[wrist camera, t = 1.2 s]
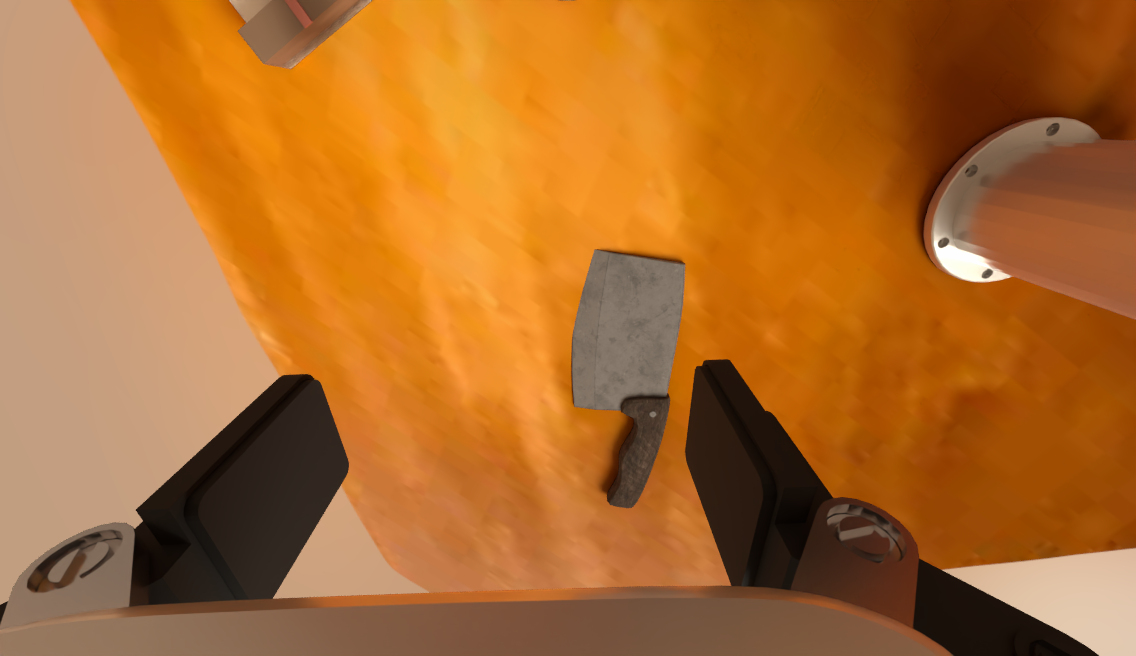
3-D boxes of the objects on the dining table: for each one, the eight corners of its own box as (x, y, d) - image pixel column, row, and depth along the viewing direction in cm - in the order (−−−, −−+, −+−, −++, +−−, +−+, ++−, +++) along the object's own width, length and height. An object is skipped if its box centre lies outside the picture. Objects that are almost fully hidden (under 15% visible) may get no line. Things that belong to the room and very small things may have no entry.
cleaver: (652, 495, 49) (656, 510, 47) (568, 495, 49) (568, 511, 47) (687, 247, 36) (694, 254, 34) (573, 245, 36) (574, 252, 34)
